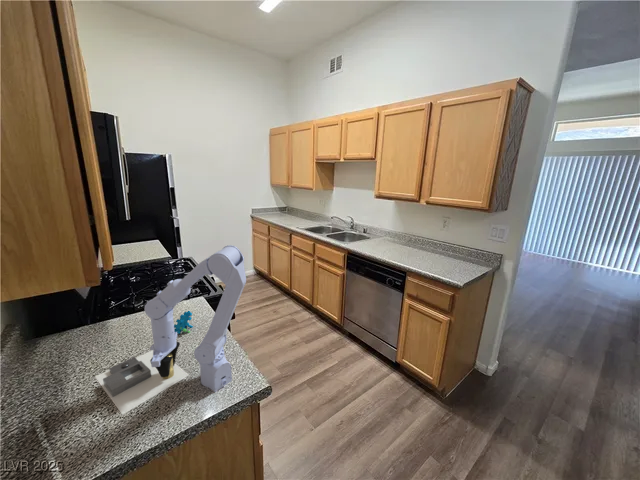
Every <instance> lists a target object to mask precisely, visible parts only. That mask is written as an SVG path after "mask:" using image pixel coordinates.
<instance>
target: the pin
mask: <svg viewBox="0 0 640 480" xmlns="http://www.w3.org/2000/svg"><path fill="white" fill-rule="evenodd" d="M166 356H167V357H170V356H172V353H169V354H168V355H166ZM173 375H174V367H173V358H172V360H171V363H170V373H169V376H168V377H163V379H169V378H171V377H173Z"/></svg>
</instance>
